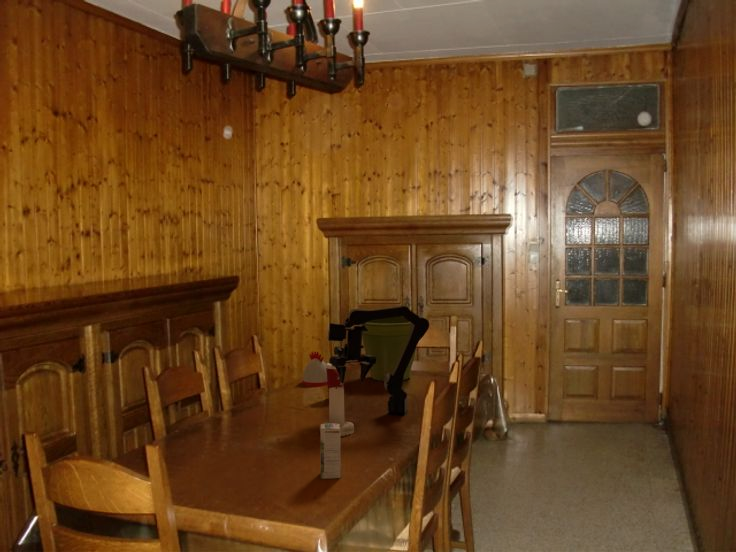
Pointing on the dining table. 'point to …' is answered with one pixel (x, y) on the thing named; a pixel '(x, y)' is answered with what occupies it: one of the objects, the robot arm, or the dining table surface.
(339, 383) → the coffee cup
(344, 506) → the dining table surface
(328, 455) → the syrup box
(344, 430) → the base disc
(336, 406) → the candle
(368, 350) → the plant pot
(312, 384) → the white and red hat
